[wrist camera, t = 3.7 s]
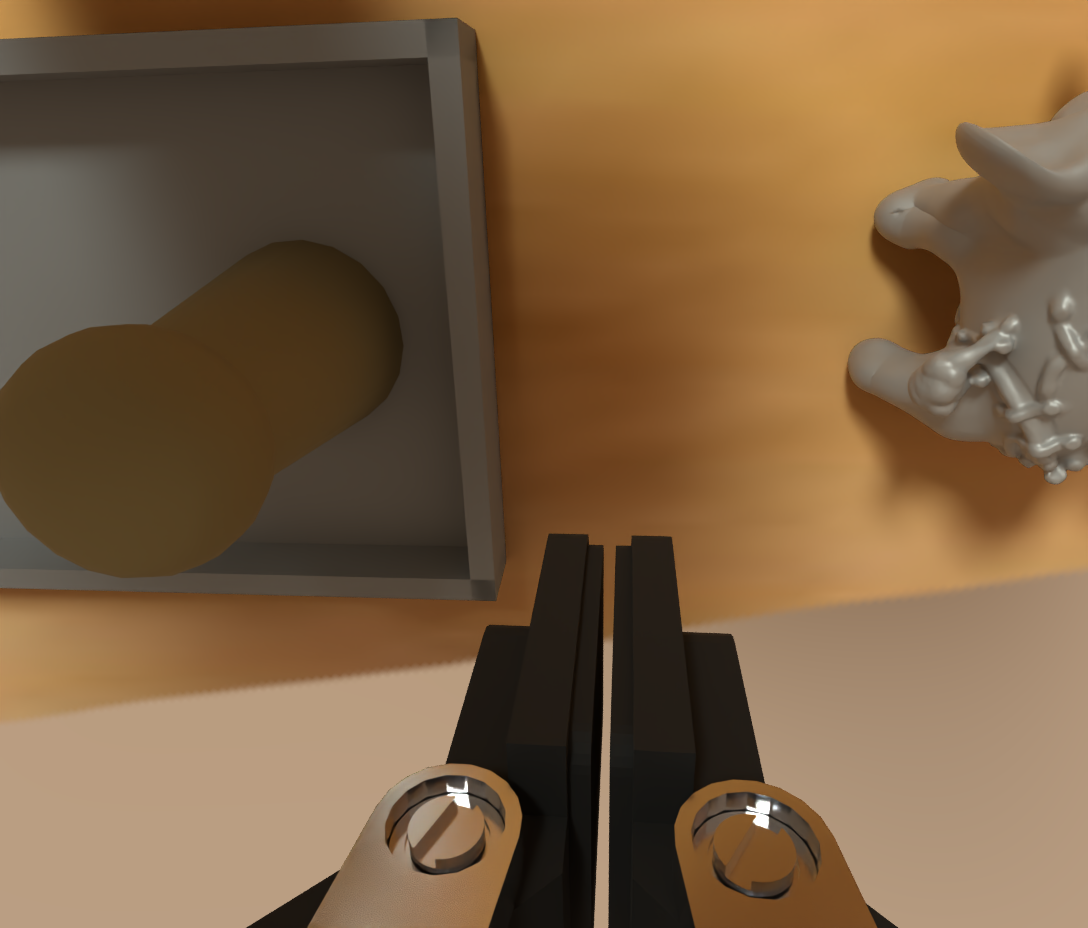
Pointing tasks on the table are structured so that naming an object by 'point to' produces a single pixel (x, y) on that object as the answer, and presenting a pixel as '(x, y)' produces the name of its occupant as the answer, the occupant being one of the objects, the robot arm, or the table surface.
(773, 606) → the table surface
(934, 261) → the table surface
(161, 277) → the tray
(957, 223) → the gray elephant figurine
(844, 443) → the table surface
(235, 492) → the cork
